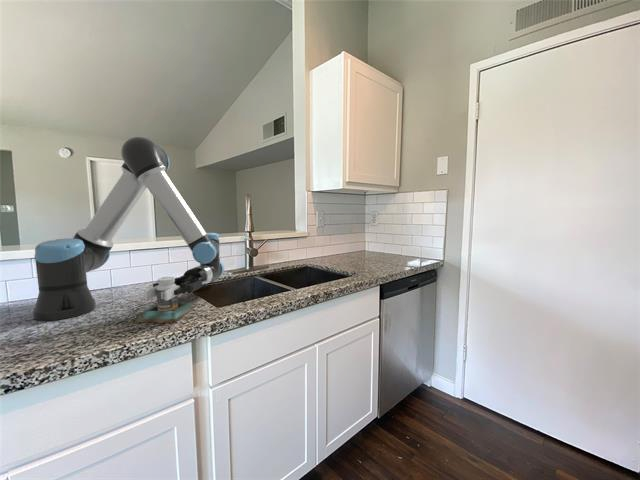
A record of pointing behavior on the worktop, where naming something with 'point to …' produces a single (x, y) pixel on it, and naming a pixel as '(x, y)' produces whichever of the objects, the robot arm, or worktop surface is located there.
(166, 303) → the pill bottle
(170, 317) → the socket board
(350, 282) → the worktop surface
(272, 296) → the worktop surface
